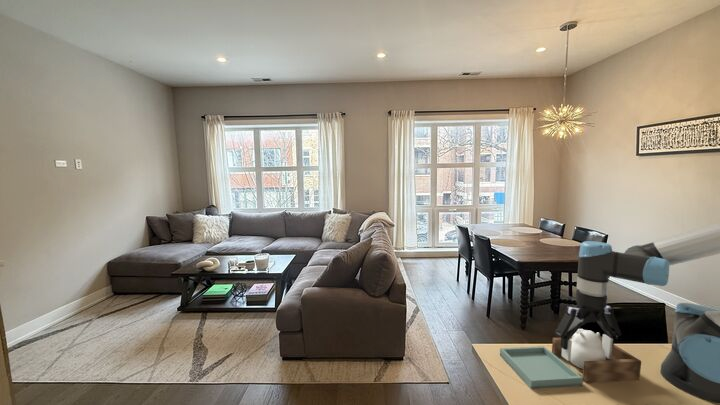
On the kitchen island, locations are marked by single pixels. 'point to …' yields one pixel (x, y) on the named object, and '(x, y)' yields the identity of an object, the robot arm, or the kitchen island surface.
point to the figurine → (586, 347)
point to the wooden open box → (607, 366)
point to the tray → (540, 367)
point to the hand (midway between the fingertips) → (586, 357)
